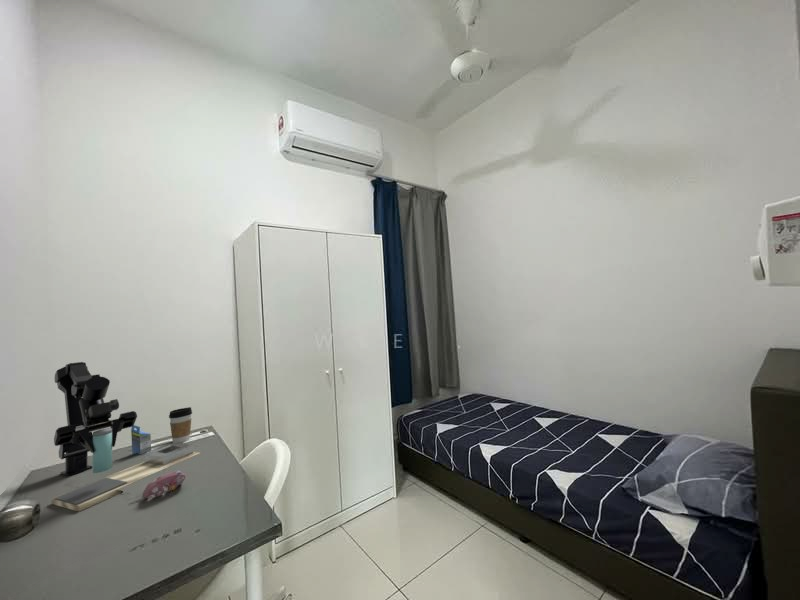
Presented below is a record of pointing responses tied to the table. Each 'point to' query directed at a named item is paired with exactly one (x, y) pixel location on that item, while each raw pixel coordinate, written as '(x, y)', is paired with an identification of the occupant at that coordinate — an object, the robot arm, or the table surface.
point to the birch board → (124, 475)
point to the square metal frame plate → (168, 454)
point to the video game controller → (164, 483)
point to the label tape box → (140, 441)
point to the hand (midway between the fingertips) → (103, 448)
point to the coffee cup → (180, 424)
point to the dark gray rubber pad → (90, 491)
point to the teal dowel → (102, 450)
